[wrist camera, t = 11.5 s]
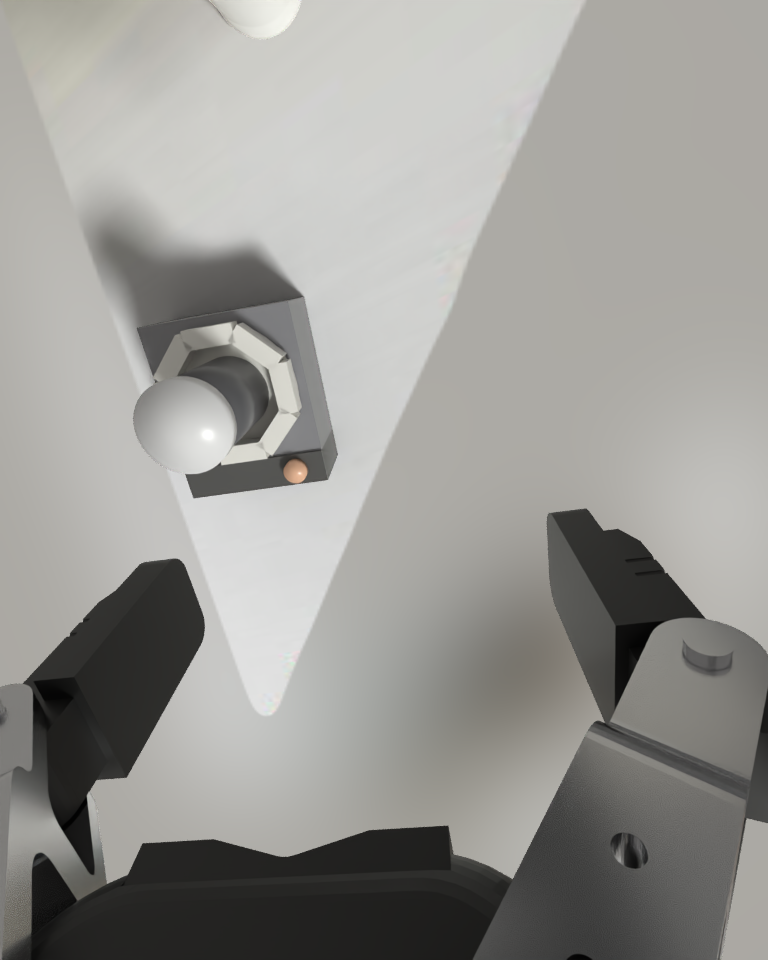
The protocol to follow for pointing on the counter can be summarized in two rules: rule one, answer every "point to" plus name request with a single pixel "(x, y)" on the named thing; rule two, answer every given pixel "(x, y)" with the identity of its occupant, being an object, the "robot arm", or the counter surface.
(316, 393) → the block with octagonal ring
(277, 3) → the drinking glass
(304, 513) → the counter surface
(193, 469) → the dark capped cylinder
